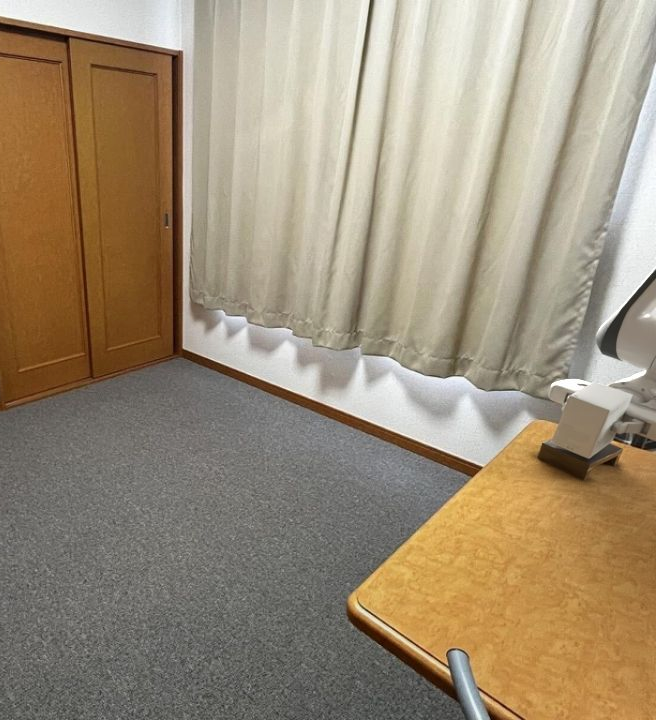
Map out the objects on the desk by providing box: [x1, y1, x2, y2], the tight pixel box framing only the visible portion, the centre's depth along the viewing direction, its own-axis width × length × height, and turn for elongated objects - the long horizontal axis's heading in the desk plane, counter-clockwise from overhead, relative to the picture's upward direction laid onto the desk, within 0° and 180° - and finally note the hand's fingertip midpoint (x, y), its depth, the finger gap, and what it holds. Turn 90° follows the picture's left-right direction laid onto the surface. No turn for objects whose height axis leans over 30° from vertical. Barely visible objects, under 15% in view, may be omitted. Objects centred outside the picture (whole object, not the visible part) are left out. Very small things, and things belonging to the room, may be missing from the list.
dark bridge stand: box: [537, 438, 624, 481], centre depth 91 cm, size 8×11×4 cm
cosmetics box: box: [551, 381, 633, 459], centre depth 88 cm, size 10×6×10 cm, turn 121°
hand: (590, 418), depth 87 cm, fingers closed on cosmetics box, 6 cm apart
